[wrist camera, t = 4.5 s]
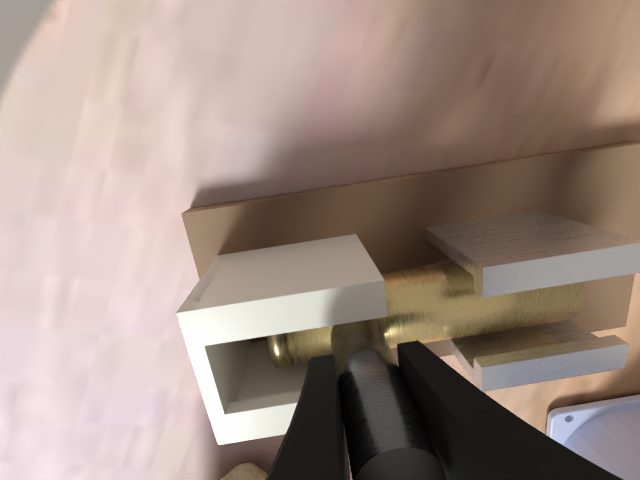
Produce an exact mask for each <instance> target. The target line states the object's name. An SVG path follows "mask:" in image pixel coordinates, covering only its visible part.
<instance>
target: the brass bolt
mask: <svg viewBox="0 0 640 480" xmlns="http://www.w3.org/2000/svg"><path fill="white" fill-rule="evenodd" d="M381 275H382V277H383V278H384V280H385V291H386V302H387V314H388V317H382V318H376V319H370V320H364V321H357V322H351V323H345V324H339V325H332V326H326V327H320V328H314V329H307V330H301V331H295V332H289V333H282V334H276V335H270V336H267V340H268V346H269V351H270V355H271V359H272V362H273V365H274V366H275V368H283V367H289V366H293V365H294V364H298V363H304V362H308V361H309V360H310V359H311V357H317V356H323V355H330V354H333V357H334V363H335V369H336V376H337V382H338V389H339V395H340V402H341V409H342V416H343V423H344V429H345V435H346V442H347V448H348V454H349V460H350V467H351V473H352V479H353V480H447V478H446V475H445V472H444V469H443V466H442V464H441V462H440V460H439V457H438V455H437V453H436V451H435V448H434V446H433V444H432V442H431V439H430V437H429V435H428V432H427V430H426V428H425V426H424V423H423V421H422V419H421V417H420V414H419V412H418V410H417V408H416V405H415V403H414V401H413V399H412V396H411V394H410V392H409V389H408V387H407V385H406V383H405V380H404V378H403V376H402V374H401V371H400V369H399V367H398V365H397V362H396V360H395V358H394V355H393V353H392V351H391V348H397V344H398V343H405V342H411V341H417V340H418V341H420V342H421V343H428V342H434V341H440V340H447V339H453V338H459V337H465V336H471V335H477V334H484V333H490V332H496V331H502V330H508V329H514V328H521V327H527V326H533V325H539V324H545V323H552V322H558V321H564V320H569V319H572V318H574V317H576V316H577V315H578V314H579V313H580V311H581V309H582V306H583V302H584V289H583V284H582V282H578V283H572V284H565V285H559V286H553V287H547V288H540V289H534V290H528V291H522V292H515V293H509V294H503V295H497V296H490V297H484V298H482V297H481V296H480V295H479V294H478V293H476V292H475V291H474V276H473V275H472V274H471V273H469V272H468V271H467V270H465V269H464V268H463V267H461V266H460V265H459V264H458V263H456V262H452V263H446V264H440V265H433V266H427V267H421V268H414V269H408V270H401V271H395V272H389V273H382V274H381Z"/></svg>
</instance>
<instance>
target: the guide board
mask: <svg viewBox="0 0 640 480" xmlns="http://www.w3.org/2000/svg"><path fill="white" fill-rule="evenodd" d="M182 218H183V221H184V225H185V228H186V232H187V236H188V239H189V243H190V246H191V250H192V253H193V257H194V261H195V264H196V268H197V271H198V275H199V278H200V279H201V278H202V276H203V275H204V273H205V272H206V271H207V269H208V268H209V266H210V265H211V264H212V262H213V261H214V259H215V258H216V257H217V255H223V254H230V253H236V252H243V251H249V250H256V249H262V248H269V247H275V246H281V245H288V244H294V243H301V242H307V241H314V240H320V239H327V238H333V237H339V236H346V235H352V234H356V235H357V236H358V238H359V240H360V241H361V243H362V244H363V246H364V248H365V249H366V251H367V253H368V254H369V256H370V257H371V259H372V261H373V262H374V264H375V266H376V267H377V269H378V270H379V272H380V274H382V273H389V272H395V271H401V270H408V269H414V268H421V267H427V266H433V265H440V264H446V263H452V262H456V263H458V264H459V265H460V266H461V267H463V268H464V269H465V270H467V271H468V272H469V273H471V274H472V275H473V276H474V291H475V292H476V293H478V294H479V295H480V296H481V297H482V298H484V297H490V296H497V295H503V294H509V293H515V292H522V291H528V290H534V289H540V288H547V287H553V286H559V285H565V284H572V283H578V282H582V284H583V289H584V302H583V306H582V309H581V311H580V313H579V314H578V315H577V316H576V317H574V318H572V319H569V320H564V321H558V322H552V323H545V324H539V325H533V326H527V327H521V328H514V329H508V330H502V331H496V332H490V333H484V334H477V335H471V336H465V337H459V338H453V339H447V340H440V341H434V342H428V343H422V344H424V345H425V346H426V347H427V348H428V349H430V350H431V351H432V352H433V353H434V354H436V355H437V356H438V357H441V356H447V355H453V354H454V355H455V356H456V358H457V359H458V361H459V362H460V363H461V365H462V366H463V367H464V369H465V370H466V372H467V373H468V374H469V376H470V377H471V378H472V380H473V381H474V383H475V384H476V385H477V387H478V388H479V389H480V390H481V391H482V392H484V391H491V390H497V389H503V388H509V387H515V386H521V385H527V384H533V383H539V382H545V381H551V380H557V379H563V378H569V377H575V376H581V375H587V374H593V373H599V372H606V371H612V370H618V369H624V368H625V362H626V357H627V351H628V345H629V343H627V342H625V341H624V340H622V339H620V338H619V337H617V336H615V335H611V336H605V337H599V338H598V337H597V336H595V335H593V334H592V333H590V332H595V331H601V330H607V329H613V328H619V327H625V326H626V322H627V316H628V310H629V304H630V298H631V292H632V286H633V280H634V275H635V273H640V141H631V142H624V143H617V144H611V145H604V146H598V147H591V148H585V149H578V150H572V151H565V152H558V153H552V154H545V155H539V156H532V157H526V158H519V159H512V160H506V161H499V162H493V163H486V164H480V165H473V166H466V167H460V168H453V169H447V170H440V171H434V172H427V173H421V174H414V175H407V176H401V177H394V178H388V179H381V180H375V181H368V182H361V183H355V184H348V185H342V186H335V187H329V188H322V189H315V190H309V191H302V192H296V193H289V194H283V195H276V196H269V197H263V198H256V199H250V200H243V201H237V202H230V203H224V204H217V205H210V206H204V207H197V208H191V209H188V210H186V211H185V212H183V213H182ZM265 340H267V336H264V337H257V338H251V339H250V342H251V343H253V342H259V341H265ZM391 351H392V353H393V355H394V358H395V360H396V362H397V364H398V352H397V348H391Z"/></svg>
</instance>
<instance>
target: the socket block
mask: <svg viewBox="0 0 640 480" xmlns="http://www.w3.org/2000/svg"><path fill="white" fill-rule="evenodd" d="M176 314H177V318H178V321H179V324H180V327H181V330H182V333H183V337H184V340H185V343H186V346H187V349H188V352H189V356H190V359H191V362H192V365H193V368H194V371H195V375H196V378H197V381H198V384H199V387H200V390H201V393H202V397H203V400H204V403H205V406H206V409H207V412H208V416H209V419H210V422H211V425H212V428H213V431H214V435H215V438H216V441H217V444H218V445H224V444H230V443H236V442H242V441H248V440H254V439H260V438H266V437H272V436H278V435H284V434H286V432H287V430H288V427H289V425H290V422H291V420H292V417H293V414H294V411H295V408H296V405H297V402H298V400H299V397H300V394H301V390H302V387H303V383H304V380H305V376H306V371H307V366H308V362H304V363H298V364H294V365H293V366H289V367H283V368H275V366H274V365H273V362H272V359H271V355H270V351H269V346H268V340H265V341H259V342H253V343H251V342H250V339H251V338H257V337H264V336H270V335H276V334H282V333H289V332H295V331H301V330H307V329H314V328H320V327H326V326H332V325H339V324H345V323H351V322H357V321H364V320H370V319H376V318H382V317H388V314H387V302H386V291H385V280H384V278H383V277H382V275H381V274H380V272H379V270H378V269H377V267H376V266H375V264H374V262H373V261H372V259H371V257H370V256H369V254H368V253H367V251H366V249H365V248H364V246H363V244H362V243H361V241H360V240H359V238H358V236H357V235H356V234H352V235H346V236H339V237H333V238H327V239H320V240H314V241H307V242H301V243H294V244H288V245H281V246H275V247H269V248H262V249H256V250H249V251H243V252H236V253H230V254H223V255H217V257H216V258H215V259H214V261H213V262H212V264H211V265H210V266H209V268H208V269H207V271H206V272H205V273H204V275H203V276H202V278H201V279H200V280H199V282H198V283H197V285H196V286H195V287H194V289H193V290H192V292H191V293H190V294H189V296H188V297H187V299H186V300H185V301H184V303H183V304H182V306H181V307H180V308H179V310H178V311H177V313H176Z"/></svg>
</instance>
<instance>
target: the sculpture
mask: <svg viewBox="0 0 640 480" xmlns="http://www.w3.org/2000/svg"><path fill="white" fill-rule="evenodd" d="M266 477H267V473H266V472H264V471H263V470H262V469H261V468H259V467H257V466H256V465H255V464H252V463H250V462H248V463H243V464H239V465H237V466H236V467H235V468H234V469H232V470H231V471H230V472H229V473H228V474H226V475H225V476H224V477H222V478H221V479H220V480H265V479H266Z"/></svg>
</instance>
